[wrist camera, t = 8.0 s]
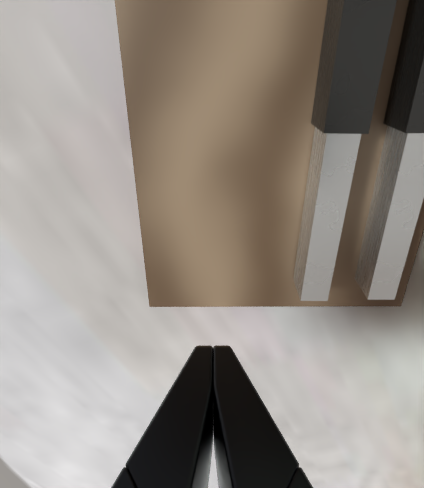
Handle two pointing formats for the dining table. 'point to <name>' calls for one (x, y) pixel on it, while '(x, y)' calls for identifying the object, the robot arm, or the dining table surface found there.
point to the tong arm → (339, 131)
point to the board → (237, 149)
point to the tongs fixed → (397, 169)
